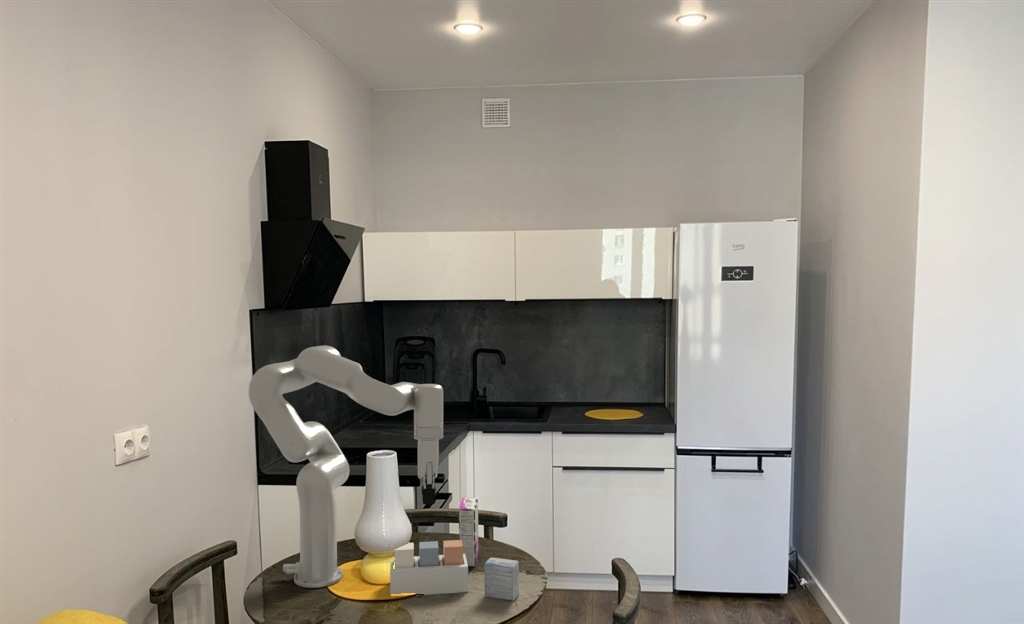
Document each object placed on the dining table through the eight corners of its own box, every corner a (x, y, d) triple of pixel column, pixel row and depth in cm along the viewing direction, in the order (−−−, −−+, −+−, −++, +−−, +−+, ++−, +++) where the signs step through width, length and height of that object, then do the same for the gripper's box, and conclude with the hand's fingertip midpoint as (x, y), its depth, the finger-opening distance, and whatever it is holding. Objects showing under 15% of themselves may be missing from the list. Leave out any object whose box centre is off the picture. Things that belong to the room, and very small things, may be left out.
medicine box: (519, 594, 168) (519, 560, 168) (513, 601, 164) (513, 567, 164) (490, 590, 170) (490, 556, 170) (483, 597, 166) (483, 562, 166)
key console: (390, 597, 166) (390, 571, 166) (391, 582, 175) (390, 557, 175) (468, 591, 169) (468, 566, 169) (465, 577, 178) (464, 553, 178)
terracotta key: (444, 571, 170) (444, 547, 170) (443, 564, 175) (443, 540, 175) (463, 570, 171) (463, 546, 171) (461, 563, 176) (461, 539, 176)
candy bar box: (462, 552, 196) (462, 497, 196) (478, 552, 196) (478, 497, 196) (458, 567, 185) (458, 508, 185) (476, 567, 185) (476, 508, 185)
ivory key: (394, 574, 168) (394, 550, 168) (395, 567, 173) (395, 543, 173) (413, 573, 169) (413, 549, 169) (413, 566, 174) (413, 542, 174)
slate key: (419, 572, 169) (419, 548, 169) (419, 565, 174) (419, 542, 174) (438, 571, 170) (438, 547, 170) (437, 564, 175) (437, 541, 175)
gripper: (413, 427, 179) (413, 494, 179) (414, 438, 163) (414, 512, 164) (441, 426, 180) (441, 493, 180) (444, 437, 165) (445, 511, 165)
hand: (428, 502), depth 172 cm, fingers closed
